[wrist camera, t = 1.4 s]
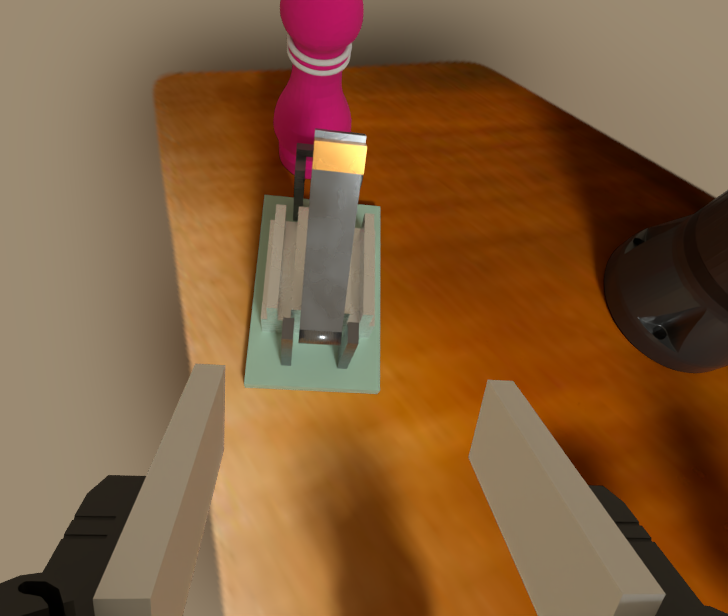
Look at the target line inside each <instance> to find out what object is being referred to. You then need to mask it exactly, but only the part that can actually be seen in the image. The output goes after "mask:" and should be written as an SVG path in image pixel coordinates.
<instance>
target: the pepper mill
mask: <svg viewBox="0 0 728 616" xmlns="http://www.w3.org/2000/svg"><path fill="white" fill-rule="evenodd" d="M280 14H281V18H282V21H283V24H284V27H285V29H286V31H287V54H288V57H289V58H290V60H291V62H292V64H293V65H292V73H291V76H290V79H289V82H288V84H287V85H286V87H285V88H284V90H283V92H282V93H281V95H280V97H279V99H278V102H277V104H276V107H275V112H274V122H273V123H274V130H275V134H276V136H277V138H278V140H279V156H280V160H281V162H282V164H283V165H284V166H285V168H286V169H287V170H288V171H290V172H291V173H292V174H294V175H295V164H296V149H297V143H303V144H312V145H314V136H315V128H319V129H327V130H336V131H344V132H351V115H350V110H349V106H348V103H347V101H346V98H345V96H344V94H343V91H342V85H341V79H342V70H343V69H344V68H345V67H346V66H347V65H348V63H349V60H350V52H351V49H352V42H353V41H354V40H355V38H356V37H357V35H358V33H359V31H360V29H361V26H362V22H363V1H362V0H281V1H280ZM312 162H313V157H306V168H305V178H306V179H311V174H312Z"/></svg>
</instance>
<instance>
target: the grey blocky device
mask: <svg viewBox="0 0 728 616" xmlns="http://www.w3.org/2000/svg"><path fill="white" fill-rule="evenodd" d="M313 149H314V145H312V144H303V143H297V149H296V164H295V182H294V206H293V221H298V222H289V221H286V205H279V204H276V213H275V220H271V221H270V231H269V241H268V251H267V261H266V271H265V281H264V291H263V301H262V311H261V327H262V332H276V333H282V337H281V365H284V366H291V361H292V347H293V334H299V327H300V315H301V302H302V289H303V276H304V264H305V251H306V238H307V225H308V213H309V207H303V195H304V181H305V168H306V157H313ZM362 179H363V175H362V174H361V182H360V187H361V183H362ZM359 191H360V190H359ZM374 327H375V230H374V214H369V213H365V214H364V218H363V221H362V225H361V228H355V231H354V239H353V247H352V255H351V263H350V271H349V279H348V287H347V295H346V303H345V311H344V319H343V327H342V340H341V345H340V346H339V348H338V363H337V368H339V369H347V368H348V365H349V363H350V361H351V359H352V357H353V355H354V353H355V351H356V349H357V346H358V344H359V338H369V337H370V335H371V333H372V331H373V329H374Z"/></svg>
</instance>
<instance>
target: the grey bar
mask: <svg viewBox="0 0 728 616" xmlns="http://www.w3.org/2000/svg"><path fill="white" fill-rule="evenodd" d="M365 142H366V135H365V134H360V133H352V132H344V131H336V130H327V129H319V128H315V136H314V149H313V162H312V174H311V187H310V200H309V213H308V225H307V238H306V251H305V264H304V276H303V289H302V302H301V315H300V327H299V341H298V343H302V344H319V345H335V346H340V345H341V338H342V327H343V319H344V311H345V303H346V295H347V287H348V279H349V271H350V263H351V255H352V247H353V239H354V231H355V223H356V215H357V207H358V198H359V190H360V182H361V174H362V175H364V167H365V159H366V152H367V145H366V144H365Z"/></svg>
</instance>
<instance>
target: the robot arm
mask: <svg viewBox="0 0 728 616" xmlns="http://www.w3.org/2000/svg"><path fill="white" fill-rule="evenodd" d="M604 290H605V296H606V300H607V304H608V307H609V309H610V312H611V314H612V316H613V318H614V320H615V322H616V324H617V325H618V327H619V328H620V330H621V331H622V332H623V334H624V335H625V336H626V337H627V339H628V340H629V341H630V342H631V343H632V344H633V345H634V346H635V347H636V348H637V349H638V350H640V351H641V352H642V353H643V354H645V355H646V356H647V357H649V358H650V359H652V360H654V361H655V362H657V363H659V364H661V365H663V366H665V367H668V368H671V369H674V370H677V371H681V372H687V373H703V372H708V371H712V370H715V369H718V368H721V367H724V366H727V365H728V190H727V191H726V192H724V193H723V194H721V195H720V196H718V197H717V198H716V199H714V200H713V201H711V202H710V203H709V204H707V205H706V206H705V207H703V208H702V209H700V210H699V211H697V212H696V213H694V214H693V215H689V216H686V217H683V218H679V219H676V220H673V221H669V222H666V223H663V224H659V225H656V226H653V227H650V228H647V229H644V230H642V231H640V232H638V233H636V234H635V235H633V236H632V237H631V238H629V239H628V240H627V241H625V242H624V243H623V244H622V245H620V246H619V247H618V248H617V249H616V250H615V251H614V253H613V254H612V255H611V257H610V259H609V261H608V263H607V266H606V270H605V275H604ZM224 413H225V365H210V364H195V366H194V368H193V370H192V372H191V375H190V377H189V379H188V382H187V384H186V386H185V388H184V391H183V393H182V395H181V398H180V400H179V402H178V405H177V407H176V409H175V412H174V414H173V416H172V418H171V421H170V423H169V425H168V428H167V430H166V432H165V435H164V437H163V439H162V441H161V444H160V446H159V448H158V451H157V453H156V455H155V458H154V460H153V462H152V465H151V466H150V469H149V471H148V473H147V476H120V475H108V476H107V477H106V478H105V479H104V480H102V481H101V482H100V483H99V484H98V485H97V486H95V487H94V488H93V489H92V490H91V491H90V492H89V493H87V495H86V497H85V498H84V500H83V502H82V504H81V505H80V507H79V509H78V511H77V512H76V514H75V518H74V520H72V521H71V523H70V525H69V527H68V528H67V530H66V532H65V534H64V538H63V539H61V541H60V542H59V544H58V546H57V548H56V550H55V551H54V553H53V555H52V557H51V559H50V560H49V562H48V564H47V566H46V567H45V569H44V571H43V572H42V573H35V574H28V575H20V576H18V577H15V578H13V579H10V580H8V581H5V582H3V583H0V616H183V613H184V609H185V605H186V600H187V597H188V592H189V589H190V584H191V581H192V576H193V572H194V568H195V564H196V560H197V556H198V552H199V548H200V544H201V540H202V536H203V532H204V528H205V524H206V520H207V516H208V512H209V508H210V504H211V500H212V496H213V492H214V488H215V484H216V480H217V476H218V472H219V468H220V463H221V459H222V455H223V451H224ZM469 460H470V462H471V464H472V466H473V469H474V471H475V473H476V476H477V478H478V480H479V482H480V485H481V487H482V489H483V491H484V494H485V496H486V498H487V501H488V503H489V505H490V507H491V510H492V512H493V514H494V517H495V519H496V521H497V523H498V526H499V528H500V530H501V532H502V535H503V537H504V539H505V542H506V544H507V546H508V548H509V551H510V553H511V555H512V557H513V560H514V562H515V564H516V567H517V569H518V571H519V573H520V576H521V578H522V580H523V583H524V585H525V587H526V589H527V592H528V594H529V596H530V598H531V601H532V603H533V605H534V608H535V610H536V612H537V614H538V616H728V614H727V613H724V612H722V611H720V610H717V609H715V608H713V607H710V606H704V605H703V604H702V603H701V601H700V600H699V599H698V598H697V596H696V595H695V594H694V592H693V591H692V590H691V589H690V587H689V586H688V585H687V583H686V582H685V581H684V579H683V578H682V577H681V576H680V574H679V573H678V572H677V570H676V569H675V568H674V567H673V565H672V564H671V563H670V561H669V560H668V559H667V558H666V556H665V555H664V554H663V552H662V551H661V550H660V549H659V547H658V546H657V545H656V543H655V542H652V541H651V537H650V536H649V534H648V533H647V532H646V530H645V529H644V528H643V527H642V526H639V521H638V520H637V519H636V518H635V516H634V515H633V514H632V512H631V511H630V510H629V509H628V507H627V506H626V505H625V503H624V502H623V501H621V500H620V499H619V498H618V497H616V496H615V495H614V494H613V493H611V492H610V491H609V490H608V489H606V488H605V487H604V486H590V485H587V483H586V482H585V481H584V479H583V478H582V476H581V475H580V474H579V472H578V471H577V469H576V468H575V467H574V465H573V464H572V462H571V461H570V460H569V458H568V457H567V455H566V454H565V453H564V451H563V450H562V449H561V447H560V446H559V444H558V443H557V442H556V440H555V439H554V437H553V436H552V435H551V433H550V432H549V430H548V429H547V428H546V426H545V425H544V423H543V422H542V421H541V419H540V418H539V416H538V415H537V414H536V412H535V411H534V409H533V408H532V407H531V405H530V404H529V402H528V401H527V400H526V398H525V397H524V395H523V394H522V393H521V391H520V390H519V388H518V387H517V386H516V384H515V383H514V381H501V380H488V381H487V385H486V389H485V393H484V397H483V401H482V405H481V409H480V413H479V417H478V421H477V425H476V429H475V433H474V437H473V441H472V445H471V449H470V453H469Z"/></svg>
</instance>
